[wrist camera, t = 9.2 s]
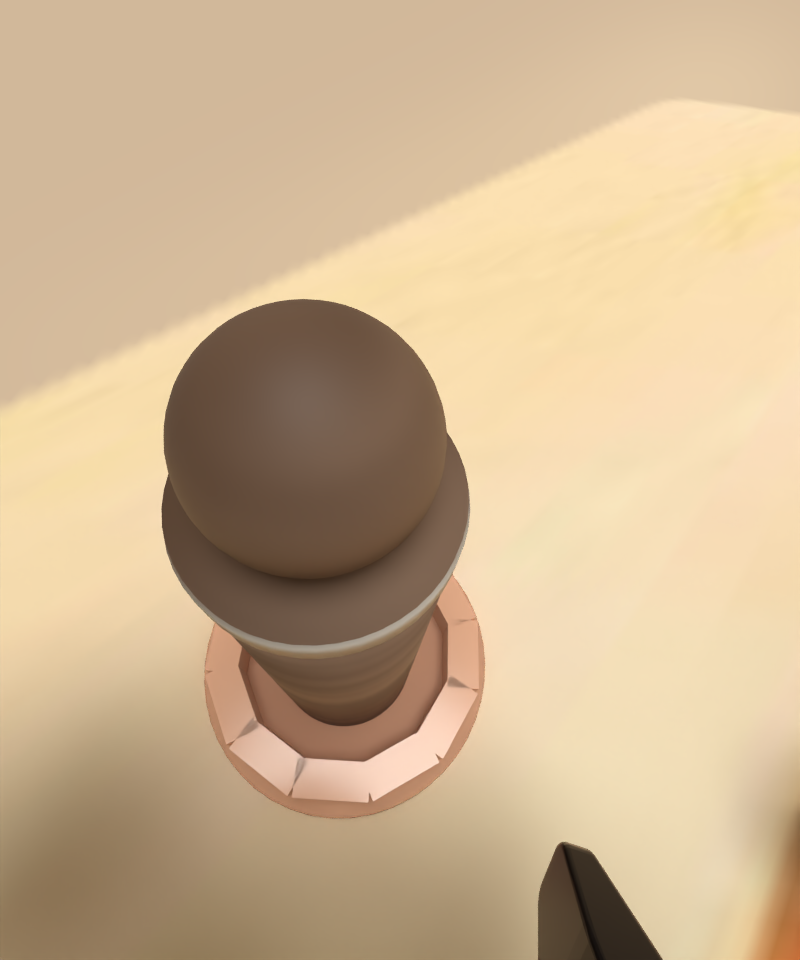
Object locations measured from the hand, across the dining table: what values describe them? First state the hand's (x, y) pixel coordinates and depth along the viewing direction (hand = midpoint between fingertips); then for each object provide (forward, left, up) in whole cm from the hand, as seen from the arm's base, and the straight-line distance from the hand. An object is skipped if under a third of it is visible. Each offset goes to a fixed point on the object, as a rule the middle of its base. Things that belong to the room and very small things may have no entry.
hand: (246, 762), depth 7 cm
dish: (+1, -3, -10) cm, 11 cm away
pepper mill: (+1, -3, -10) cm, 11 cm away
